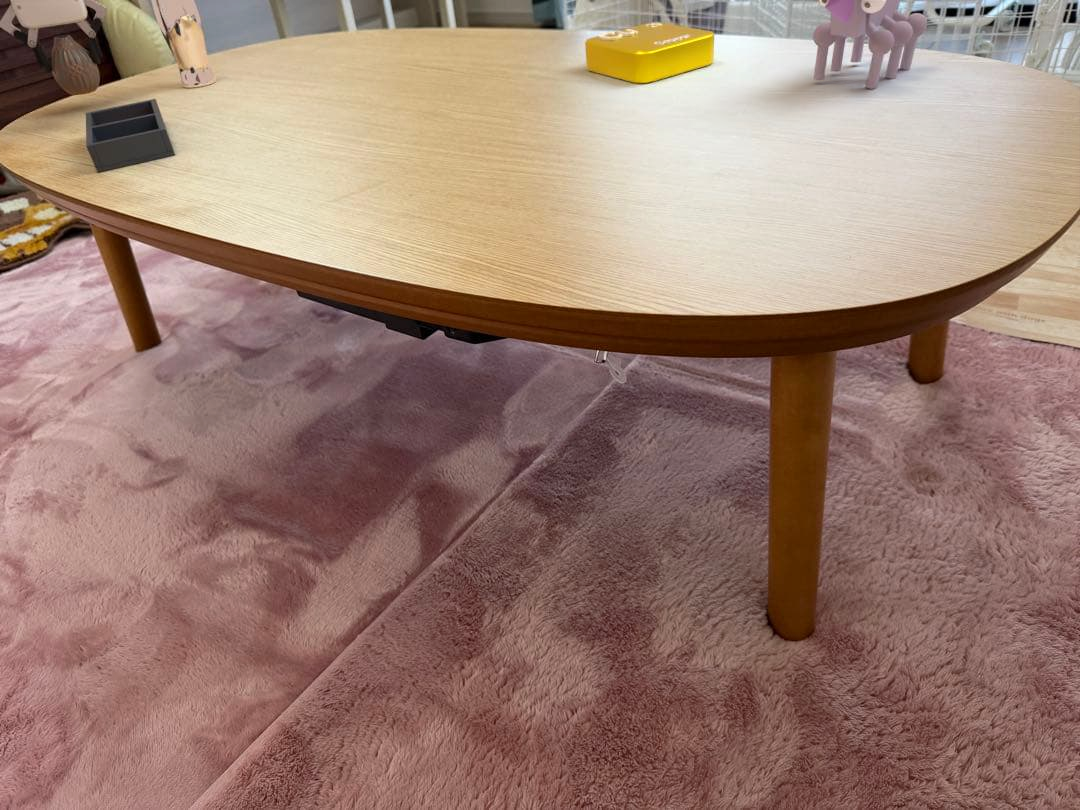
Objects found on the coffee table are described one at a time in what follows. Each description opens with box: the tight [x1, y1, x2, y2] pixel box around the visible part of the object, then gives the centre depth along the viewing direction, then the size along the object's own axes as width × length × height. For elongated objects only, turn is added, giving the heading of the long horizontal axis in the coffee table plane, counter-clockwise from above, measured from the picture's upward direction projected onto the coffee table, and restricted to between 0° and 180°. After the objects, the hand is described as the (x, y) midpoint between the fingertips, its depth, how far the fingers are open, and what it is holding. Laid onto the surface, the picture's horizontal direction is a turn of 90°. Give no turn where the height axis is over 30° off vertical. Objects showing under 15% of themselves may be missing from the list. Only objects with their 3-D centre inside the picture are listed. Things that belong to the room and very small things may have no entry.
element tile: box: [584, 21, 715, 84], centre depth 123 cm, size 15×15×5 cm
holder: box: [85, 98, 176, 173], centre depth 116 cm, size 10×19×4 cm, turn 26°
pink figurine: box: [812, 0, 928, 90], centre depth 103 cm, size 20×11×14 cm, turn 135°
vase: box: [49, 34, 101, 96], centre depth 134 cm, size 7×7×9 cm
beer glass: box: [150, 0, 218, 89], centre depth 140 cm, size 7×7×15 cm
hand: (73, 66), depth 134 cm, fingers closed on vase, 6 cm apart
